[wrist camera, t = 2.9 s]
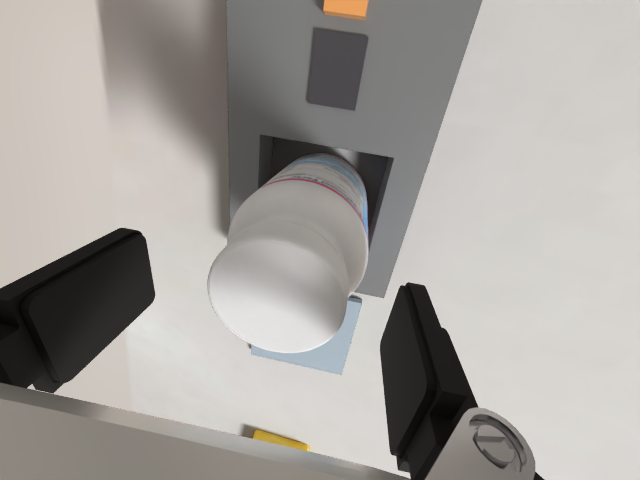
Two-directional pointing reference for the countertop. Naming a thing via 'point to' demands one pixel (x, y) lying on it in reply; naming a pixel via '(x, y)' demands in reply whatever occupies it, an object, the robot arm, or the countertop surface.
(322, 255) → the pill bottle
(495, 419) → the robot arm
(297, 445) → the dish sponge
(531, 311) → the countertop surface
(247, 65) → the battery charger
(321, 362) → the slate mat
